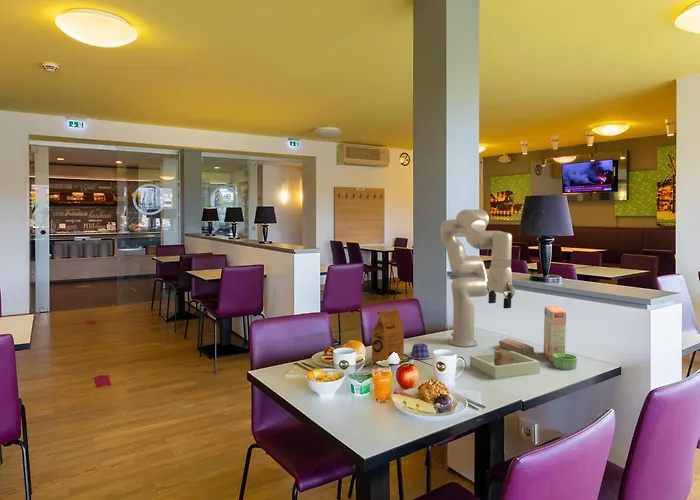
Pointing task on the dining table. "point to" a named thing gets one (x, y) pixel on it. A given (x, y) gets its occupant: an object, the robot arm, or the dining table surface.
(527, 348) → the packaged product
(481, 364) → the bin
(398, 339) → the coffee package
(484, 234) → the robot arm
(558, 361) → the ramekin
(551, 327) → the cracker box
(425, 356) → the purple plaid hat
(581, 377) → the dining table surface
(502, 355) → the walnut block
